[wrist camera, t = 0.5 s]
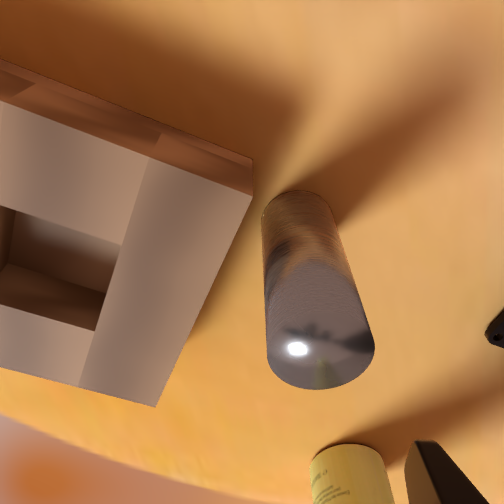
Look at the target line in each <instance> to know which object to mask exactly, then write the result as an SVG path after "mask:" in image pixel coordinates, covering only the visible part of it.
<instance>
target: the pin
mask: <svg viewBox="0 0 504 504" xmlns="http://www.w3.org/2000/svg"><path fill="white" fill-rule="evenodd" d="M261 232H262V253H263V275H264V297H265V319H266V341H267V359H268V363H269V365H270V368H271V369H272V371H273V372H274V373H275V374H276V375H277V376H278V377H279V378H280V379H281V380H283V381H284V382H286V383H288V384H290V385H293V386H296V387H299V388H303V389H312V390H320V389H329V388H334V387H338V386H341V385H343V384H346V383H348V382H350V381H352V380H354V379H355V378H357V377H358V376H359V375H360V374H362V373H363V372H364V371H365V370H366V369H367V367H368V366H369V364H370V363H371V361H372V359H373V356H374V351H375V344H374V339H373V336H372V333H371V330H370V327H369V324H368V321H367V318H366V315H365V312H364V309H363V306H362V303H361V300H360V297H359V294H358V291H357V288H356V285H355V282H354V279H353V276H352V273H351V269H350V266H349V263H348V260H347V257H346V254H345V251H344V248H343V245H342V242H341V239H340V236H339V233H338V230H337V227H336V224H335V221H334V218H333V215H332V212H331V209H330V207H329V206H328V204H327V203H326V202H325V201H324V200H323V199H322V198H321V197H319V196H318V195H316V194H314V193H311V192H308V191H290V192H286V193H284V194H281V195H279V196H278V197H276V198H275V199H273V200H272V201H271V202H270V203H269V204H268V206H267V207H266V209H265V210H264V212H263V215H262V219H261Z"/></svg>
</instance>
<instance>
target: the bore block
mask: <svg viewBox="0 0 504 504" xmlns="http://www.w3.org/2000/svg"><path fill="white" fill-rule="evenodd" d="M252 198H253V162H252V159H250V158H247V157H245V156H242V155H240V154H237V153H235V152H232V151H230V150H227V149H225V148H222V147H220V146H217V145H215V144H212V143H210V142H207V141H205V140H202V139H200V138H197V137H195V136H192V135H190V134H187V133H185V132H182V131H180V130H177V129H175V128H172V127H170V126H167V125H165V124H162V123H160V122H157V121H155V120H152V119H150V118H147V117H145V116H142V115H140V114H137V113H135V112H132V111H130V110H127V109H125V108H122V107H120V106H117V105H115V104H112V103H110V102H107V101H105V100H102V99H100V98H97V97H95V96H92V95H90V94H87V93H85V92H82V91H80V90H77V89H75V88H72V87H70V86H67V85H65V84H62V83H60V82H57V81H55V80H52V79H50V78H47V77H45V76H42V75H40V74H37V73H35V72H32V71H30V70H27V69H25V68H22V67H20V66H17V65H15V64H12V63H10V62H7V61H5V60H2V59H0V367H2V368H6V369H9V370H13V371H17V372H21V373H25V374H29V375H33V376H36V377H40V378H44V379H48V380H52V381H56V382H60V383H63V384H67V385H71V386H75V387H79V388H83V389H87V390H90V391H94V392H98V393H102V394H106V395H110V396H114V397H117V398H121V399H125V400H129V401H133V402H137V403H141V404H144V405H148V406H152V407H156V405H157V402H158V400H159V398H160V396H161V394H162V392H163V389H164V387H165V385H166V383H167V381H168V379H169V377H170V374H171V372H172V370H173V368H174V366H175V364H176V361H177V359H178V357H179V355H180V353H181V351H182V349H183V346H184V344H185V342H186V340H187V338H188V336H189V333H190V331H191V329H192V327H193V325H194V323H195V321H196V318H197V316H198V314H199V312H200V310H201V308H202V306H203V303H204V301H205V299H206V297H207V295H208V293H209V290H210V288H211V286H212V284H213V282H214V280H215V278H216V275H217V273H218V271H219V269H220V267H221V265H222V262H223V260H224V258H225V256H226V254H227V252H228V250H229V247H230V245H231V243H232V241H233V239H234V237H235V234H236V232H237V230H238V228H239V226H240V224H241V222H242V219H243V217H244V215H245V213H246V211H247V209H248V207H249V204H250V202H251V200H252Z"/></svg>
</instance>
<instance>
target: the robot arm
mask: <svg viewBox="0 0 504 504" xmlns="http://www.w3.org/2000/svg"><path fill="white" fill-rule="evenodd" d="M496 334H497V335H496ZM485 336H486V338H487V340H488V341H489V343H491V344H493V345H496V346H499V347H502V348H504V311H503V312H502V313H501V314H500V316H499V317H498V318H497V319H496V320H495V321H494V322H493V323H492V324H491V325H490V326H489V327H488V328H487V330H486V331H485ZM404 472H405V481H406V487H407V493H408V499H409V504H489V503H488V502H487V500H486V499H485V498H484V497H483V496H482V494H481V493H480V492H479V491H478V490H477V489H476V487H475V486H474V485H473V484H472V483H471V481H470V480H469V479H468V478H467V477H466V476H465V474H464V473H463V472H462V471H461V470H460V468H459V467H458V466H457V465H456V464H455V463H454V461H453V460H452V459H451V458H450V457H449V456H448V454H447V453H446V452H445V451H444V450H443V448H442V447H441V446H440V445H439V444H438V443H437V442H435V441H433V440H414V441H413V443H412V445H411V448H410V451H409V454H408V457H407V459H406V462H405V468H404Z"/></svg>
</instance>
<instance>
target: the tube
mask: <svg viewBox="0 0 504 504" xmlns="http://www.w3.org/2000/svg"><path fill="white" fill-rule="evenodd" d="M310 481H311V489H312V497H313V504H395V502H394V499H393V495H392V491H391V487H390V483H389V479H388V475H387V472H386V468H385V465H384V462H383V459H382V457H381V456H380V454H379V453H378V452H376V451H375V450H373V449H372V448H370V447H367V446H364V445H359V444H341V445H337V446H333V447H331V448H328V449H326V450H324V451H322V452H321V453H319V454H318V455H317V456H316V457H315V458H314V459H313V461H312V462H311V464H310Z"/></svg>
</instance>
